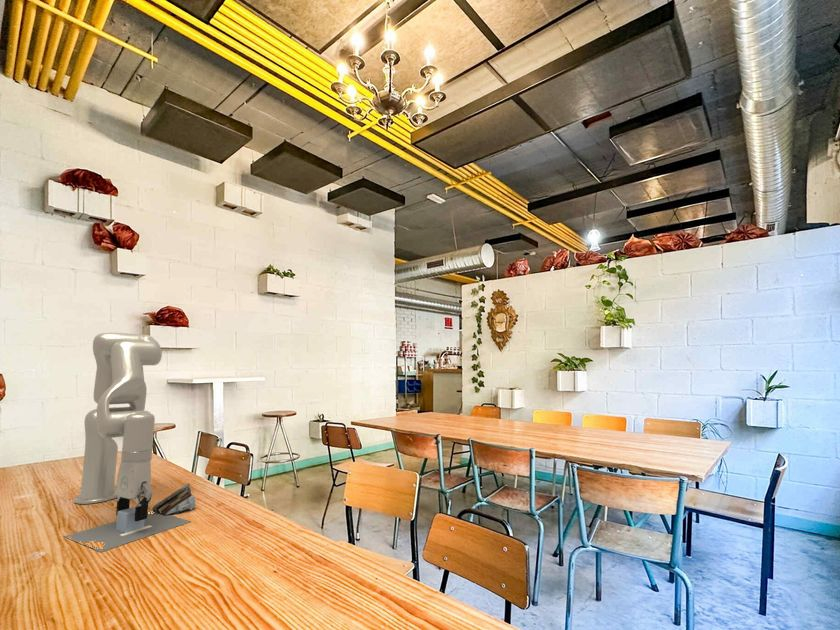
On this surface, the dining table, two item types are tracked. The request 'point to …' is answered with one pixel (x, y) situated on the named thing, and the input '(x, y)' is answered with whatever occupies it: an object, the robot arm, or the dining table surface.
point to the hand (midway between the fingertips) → (131, 516)
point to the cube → (128, 520)
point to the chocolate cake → (176, 502)
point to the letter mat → (118, 538)
